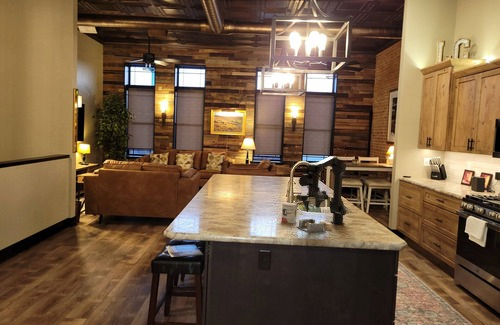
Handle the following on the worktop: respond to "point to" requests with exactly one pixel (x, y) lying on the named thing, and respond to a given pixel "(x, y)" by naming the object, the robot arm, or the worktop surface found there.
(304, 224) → the chassis
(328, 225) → the block
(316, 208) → the board
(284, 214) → the ink box
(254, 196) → the worktop surface
